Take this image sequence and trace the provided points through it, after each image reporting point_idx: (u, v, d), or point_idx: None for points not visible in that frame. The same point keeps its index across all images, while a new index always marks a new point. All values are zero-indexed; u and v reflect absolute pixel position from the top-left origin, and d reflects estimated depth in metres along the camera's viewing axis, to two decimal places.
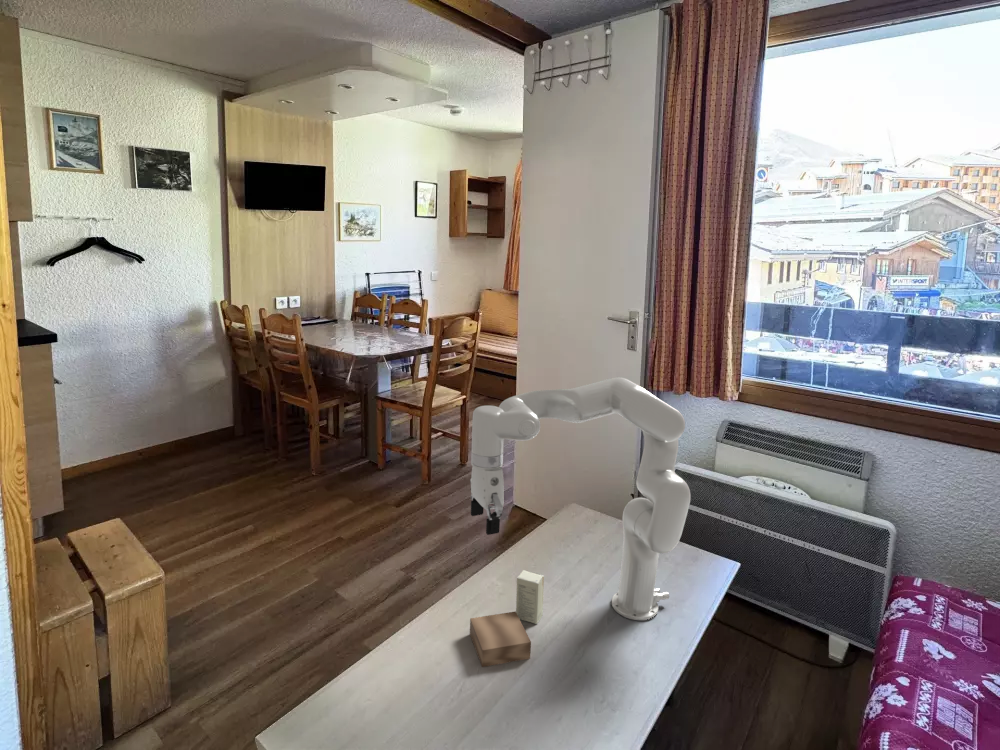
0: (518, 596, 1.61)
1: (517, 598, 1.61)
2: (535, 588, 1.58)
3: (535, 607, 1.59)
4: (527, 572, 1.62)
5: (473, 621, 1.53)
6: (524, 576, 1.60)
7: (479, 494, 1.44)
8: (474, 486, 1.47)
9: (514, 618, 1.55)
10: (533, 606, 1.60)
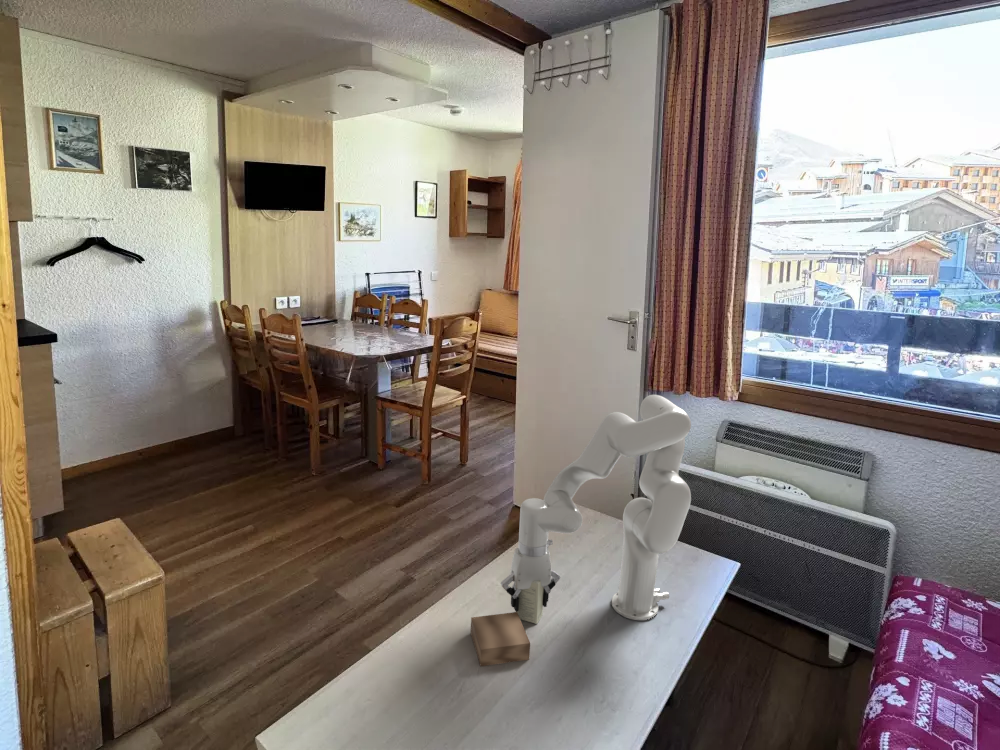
0: (518, 596, 1.61)
1: None
2: (535, 588, 1.58)
3: (535, 607, 1.59)
4: None
5: (474, 620, 1.54)
6: None
7: (540, 578, 1.59)
8: (528, 578, 1.58)
9: (515, 619, 1.55)
10: (533, 606, 1.60)
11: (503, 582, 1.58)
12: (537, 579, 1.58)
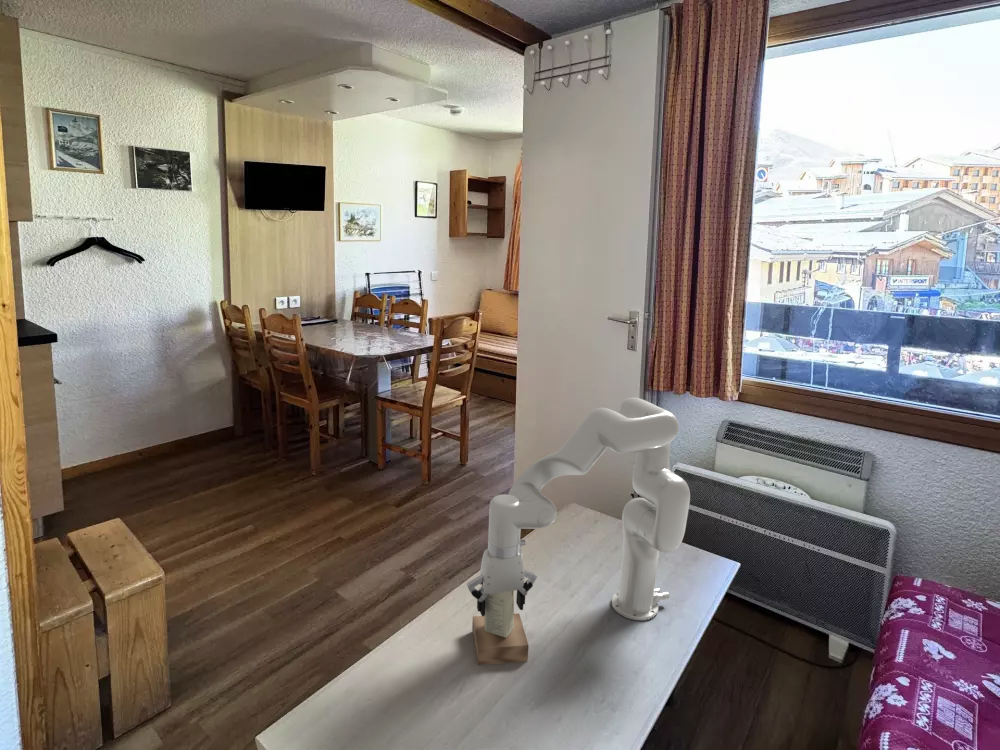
0: (486, 607, 1.49)
1: (485, 609, 1.49)
2: (503, 599, 1.46)
3: (504, 620, 1.47)
4: None
5: (475, 619, 1.54)
6: None
7: (511, 582, 1.45)
8: (499, 581, 1.44)
9: (516, 620, 1.55)
10: (502, 618, 1.47)
11: (470, 583, 1.45)
12: (508, 583, 1.45)
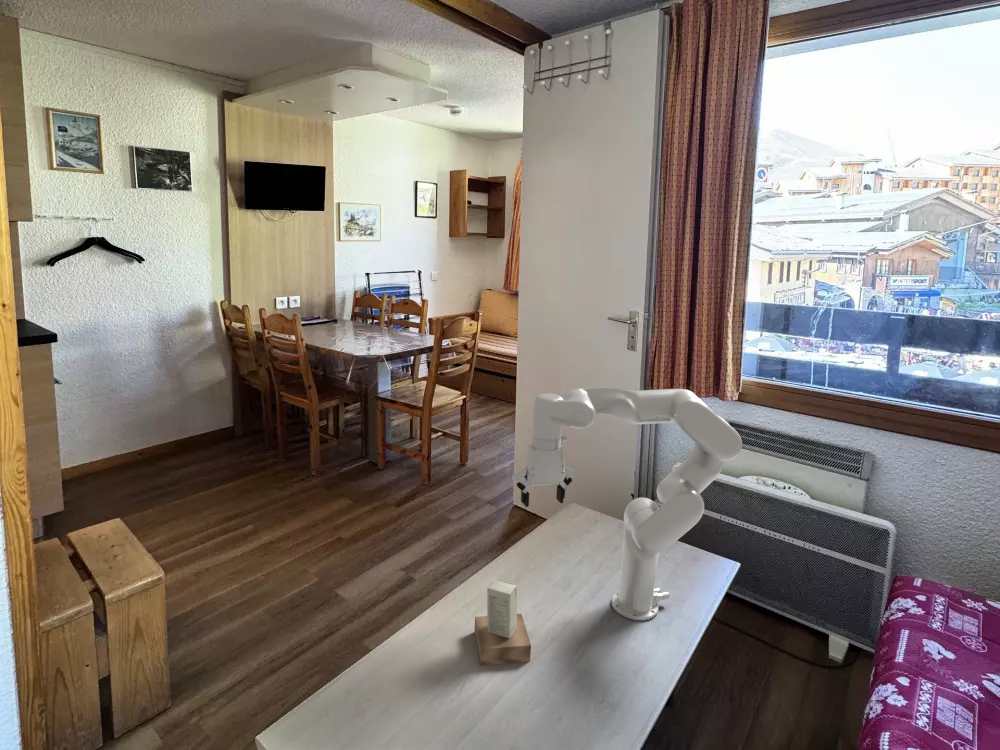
0: (489, 608, 1.48)
1: (488, 610, 1.49)
2: (506, 600, 1.45)
3: (508, 621, 1.47)
4: (499, 582, 1.50)
5: (477, 620, 1.54)
6: (495, 586, 1.48)
7: (553, 474, 1.58)
8: (542, 473, 1.57)
9: (519, 620, 1.55)
10: (505, 619, 1.47)
11: (515, 475, 1.57)
12: (551, 475, 1.57)
